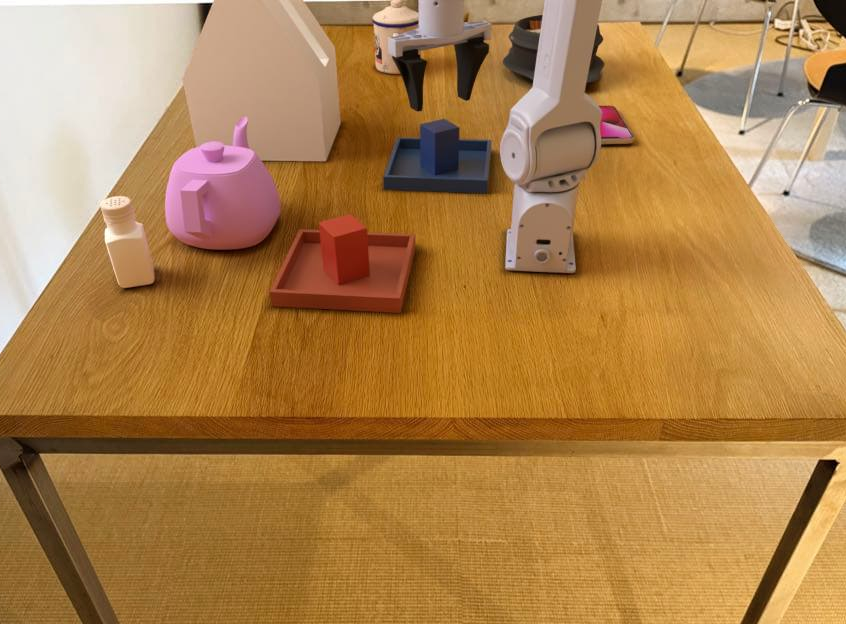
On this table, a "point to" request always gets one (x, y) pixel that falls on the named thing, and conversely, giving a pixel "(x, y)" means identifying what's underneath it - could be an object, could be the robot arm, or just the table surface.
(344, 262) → the red block
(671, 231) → the table surface
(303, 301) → the red tray
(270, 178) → the teapot
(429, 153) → the blue block
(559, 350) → the table surface
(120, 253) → the pepper shaker
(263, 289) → the table surface
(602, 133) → the smartphone
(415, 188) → the blue tray
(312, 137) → the milk carton
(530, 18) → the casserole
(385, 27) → the teacup with lid
